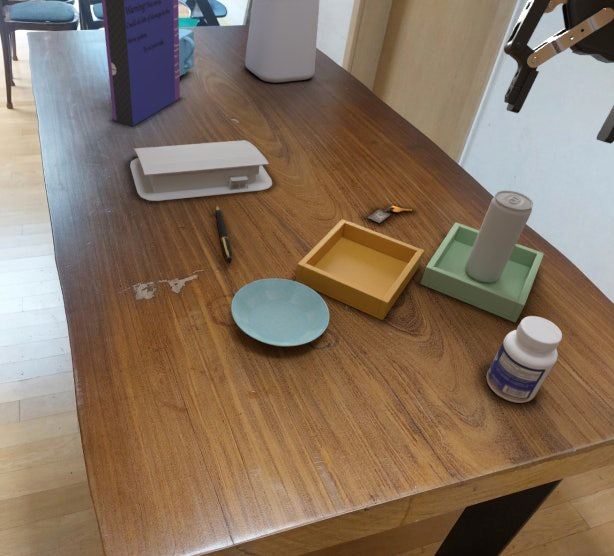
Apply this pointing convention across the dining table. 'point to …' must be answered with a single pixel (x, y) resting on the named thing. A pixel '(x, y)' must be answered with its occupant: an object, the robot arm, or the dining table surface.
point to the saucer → (280, 312)
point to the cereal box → (141, 56)
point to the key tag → (385, 213)
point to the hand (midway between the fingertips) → (557, 126)
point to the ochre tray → (360, 268)
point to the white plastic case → (199, 170)
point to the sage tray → (488, 296)
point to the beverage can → (498, 235)
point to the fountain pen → (223, 236)
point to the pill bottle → (524, 359)
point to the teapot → (186, 50)
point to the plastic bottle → (282, 39)
